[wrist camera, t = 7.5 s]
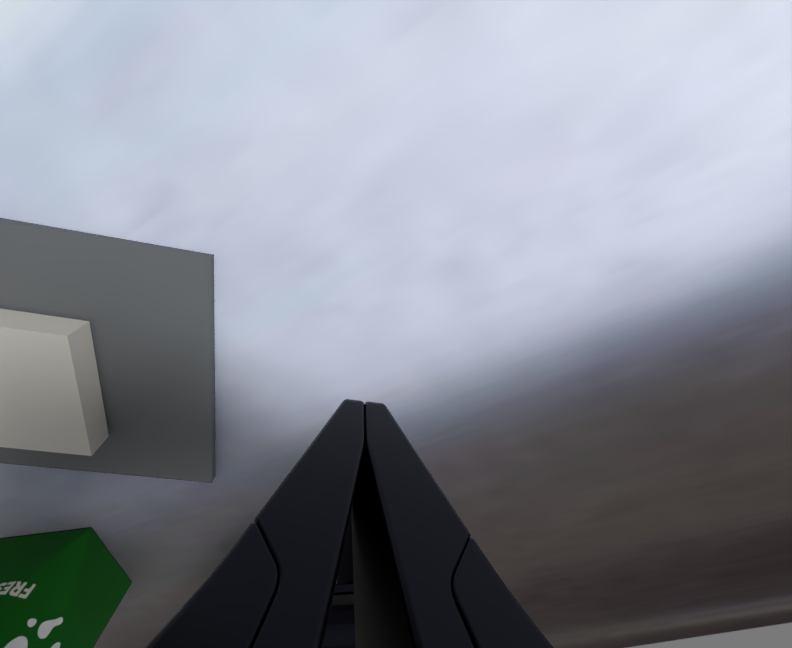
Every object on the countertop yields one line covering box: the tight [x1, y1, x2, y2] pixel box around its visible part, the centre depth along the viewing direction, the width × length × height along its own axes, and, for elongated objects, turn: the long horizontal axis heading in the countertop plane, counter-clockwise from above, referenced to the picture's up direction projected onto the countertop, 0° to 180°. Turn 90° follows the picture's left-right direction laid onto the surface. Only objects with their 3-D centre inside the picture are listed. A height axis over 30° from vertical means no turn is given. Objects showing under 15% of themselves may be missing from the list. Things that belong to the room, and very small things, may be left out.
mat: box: [0, 218, 215, 483], centre depth 21 cm, size 16×20×1 cm
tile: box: [0, 308, 109, 456], centre depth 20 cm, size 8×2×8 cm
